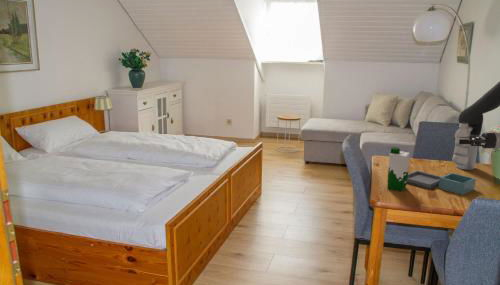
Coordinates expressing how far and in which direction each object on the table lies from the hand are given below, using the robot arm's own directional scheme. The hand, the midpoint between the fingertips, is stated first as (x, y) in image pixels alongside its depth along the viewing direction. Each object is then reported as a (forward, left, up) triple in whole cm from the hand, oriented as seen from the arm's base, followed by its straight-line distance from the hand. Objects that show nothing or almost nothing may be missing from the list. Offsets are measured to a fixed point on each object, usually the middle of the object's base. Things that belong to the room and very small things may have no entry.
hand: (457, 140), depth 205 cm
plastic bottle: (-2, +2, -12) cm, 12 cm away
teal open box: (-2, +2, -25) cm, 25 cm away
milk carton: (+20, -17, -25) cm, 36 cm away
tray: (+1, -14, -25) cm, 28 cm away
